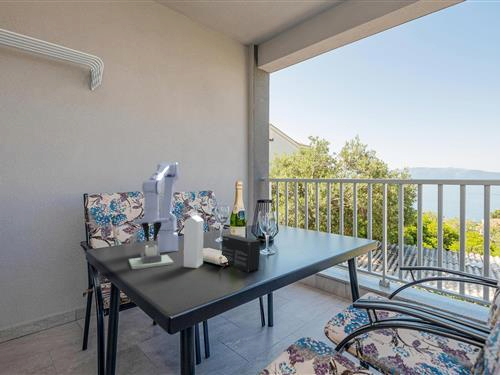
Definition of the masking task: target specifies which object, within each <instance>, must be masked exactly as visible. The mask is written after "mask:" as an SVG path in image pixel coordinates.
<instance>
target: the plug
mask: <svg viewBox="0 0 500 375" xmlns="http://www.w3.org/2000/svg"><path fill="white" fill-rule="evenodd" d="M144 248H145V251H144V253H145V257H149V256H157V252H158V251H157V248H158V245H156V244H153V245H152V244H149V245H145V246H144Z"/></svg>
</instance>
